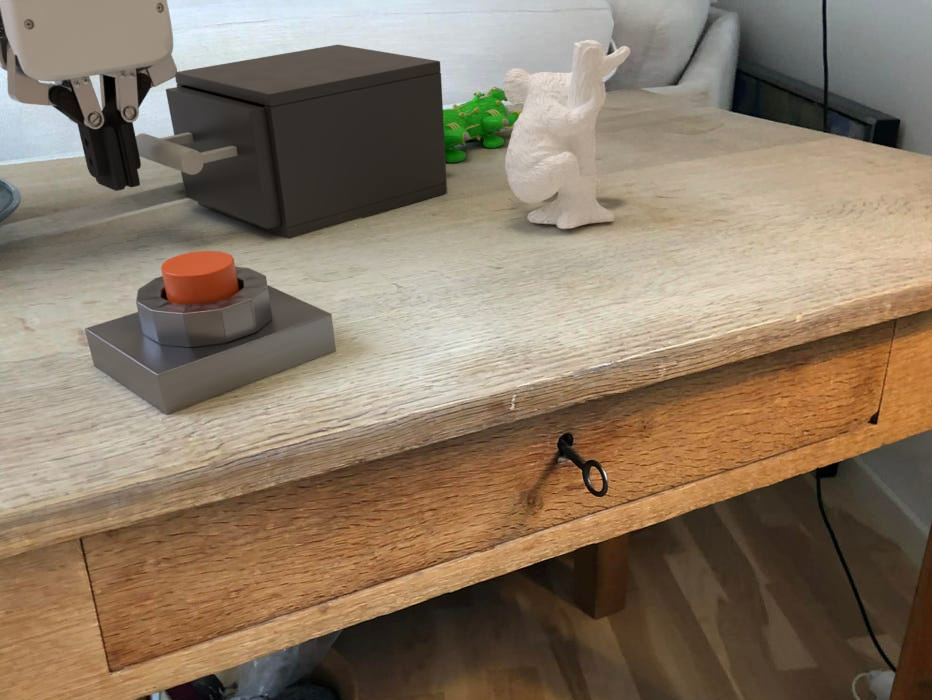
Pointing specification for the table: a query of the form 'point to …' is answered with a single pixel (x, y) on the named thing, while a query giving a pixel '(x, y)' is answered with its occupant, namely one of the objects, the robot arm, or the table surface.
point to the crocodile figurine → (476, 122)
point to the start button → (200, 277)
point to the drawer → (219, 154)
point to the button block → (208, 342)
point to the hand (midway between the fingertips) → (118, 184)
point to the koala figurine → (560, 136)
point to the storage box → (341, 130)
